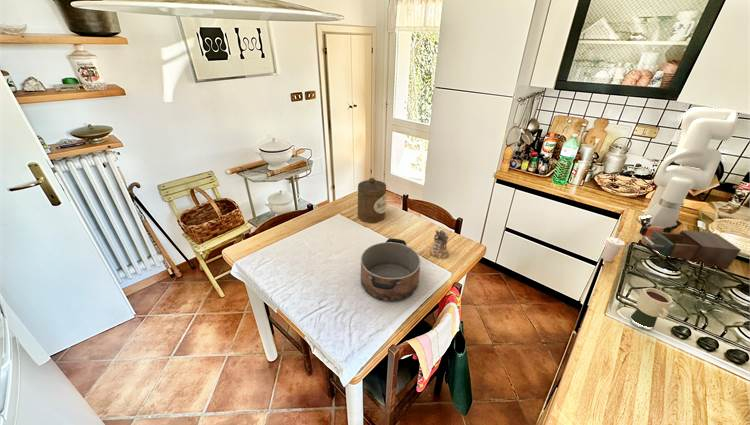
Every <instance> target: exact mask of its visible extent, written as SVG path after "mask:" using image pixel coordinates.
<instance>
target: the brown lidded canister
mask: <svg viewBox="0 0 750 425" xmlns="http://www.w3.org/2000/svg"><path fill="white" fill-rule="evenodd" d="M386 208H387V184H386V183H385V182H384V181H381V180H376V179H375V178H374V177H370V178H369V179H368V180H363V181H360V182H359V183H358V184H357V218H358V219H359V220H360V221H361V222H364V223H367V224H375V223H379V222H382V221H384V219H386Z"/></svg>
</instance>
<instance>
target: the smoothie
mask: <svg viewBox="0 0 750 425" xmlns="http://www.w3.org/2000/svg"><path fill="white" fill-rule="evenodd" d="M622 235H623V232H622V231H621V232H620V233H619V234H618V237H614V236H608V237H607V238H606V239H605V242H606V243H605V246H604V250H603V254H602V257H601V259H602V260H603V261H605V262H608V263H612V262H613V261H614V260H615V258H616V257H617V255H618V254H619V253H620V252H621V249H622V248H624V247H625V245H626V244H625V241H624V240H622V239H620V238H621V237H622Z"/></svg>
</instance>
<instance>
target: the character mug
mask: <svg viewBox="0 0 750 425" xmlns="http://www.w3.org/2000/svg"><path fill="white" fill-rule="evenodd" d="M672 304H673V298H672V297H671V295H669V294H668V293H666V292H665V291H663V290H660V289H657V288H654V287H646V288H644V287H643V288H642V289H641V290H640V292H639V297H638V299H637V301H636V308H637V309H636V310H634V312H632V313H631V315H630V316H631V318H632V319H633V320H634V321H635V322H637V323H639V324H641V325H643V326H647V327H653V328H655V325H656V322H657V321H658V318H660V319H662V320H666V318H667V317H668V315H669V314H670V312H669V309H670V308H671V305H672ZM636 327H638V326H636ZM638 328H639V327H638Z"/></svg>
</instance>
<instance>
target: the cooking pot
mask: <svg viewBox="0 0 750 425" xmlns="http://www.w3.org/2000/svg"><path fill="white" fill-rule="evenodd" d="M420 272H421V257H420V255H419V254H418V252H417V251H416V250H415V249H413V248H412V247H410V246H408V245H407V242H406V241H405V240H404V239H401V238H400V239H399V238H393V237H392V238H388V239H386V241H385V242H378V243H375V244H373V245H370V246H369V247H367V248H366V249H365V250H364V251H363V252H362V253H361V256H360V283H361V286H362V288H363V290H364V291H365V292H366V293H367V294H368V295H369V296H371V297H373V298H375V299H377V300H380V301H386V302H396V301H402V300H405V299H407V298H409V297H411V296H412V295H413V294H414V293H415V292H416V291H417V289H418V286H419V280H420Z"/></svg>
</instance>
